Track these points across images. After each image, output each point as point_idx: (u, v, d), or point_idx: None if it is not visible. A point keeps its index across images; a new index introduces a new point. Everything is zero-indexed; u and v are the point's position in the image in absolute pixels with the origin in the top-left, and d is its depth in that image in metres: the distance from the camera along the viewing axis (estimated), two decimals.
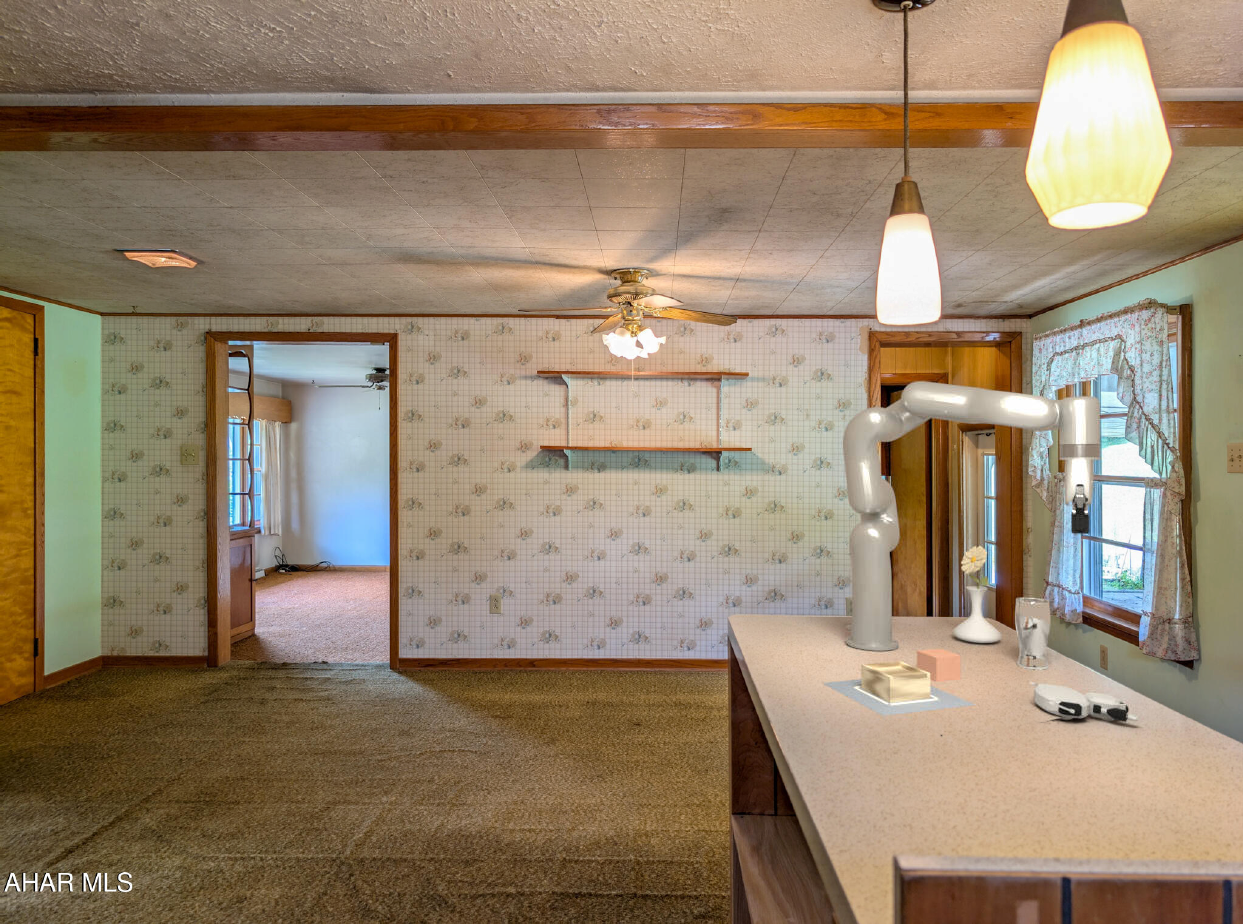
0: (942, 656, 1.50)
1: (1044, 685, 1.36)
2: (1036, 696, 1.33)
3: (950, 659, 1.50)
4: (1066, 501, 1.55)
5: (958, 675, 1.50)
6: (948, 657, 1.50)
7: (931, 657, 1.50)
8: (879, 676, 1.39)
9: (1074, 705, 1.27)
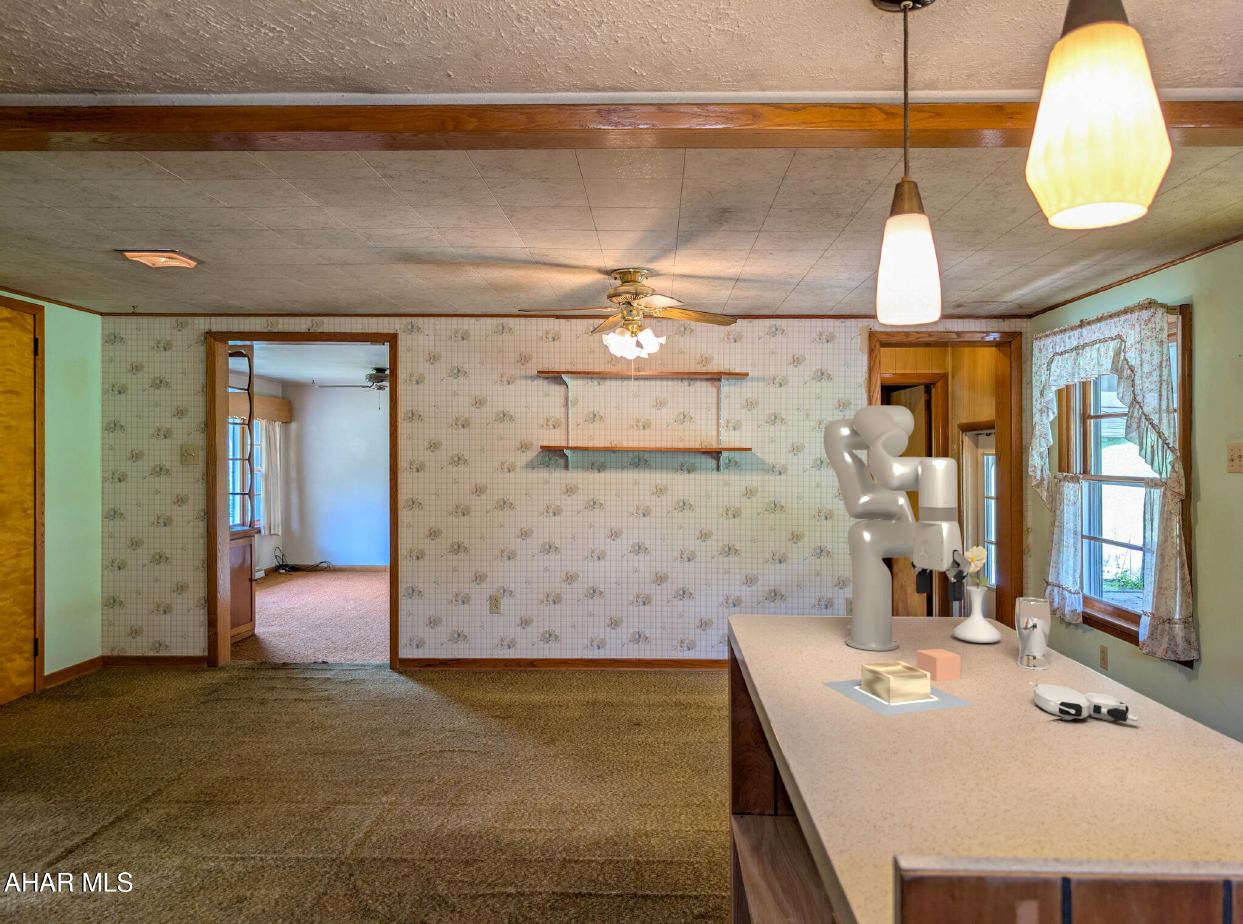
0: (942, 656, 1.50)
1: (1044, 685, 1.36)
2: (1036, 696, 1.33)
3: (950, 659, 1.50)
4: (944, 568, 1.47)
5: (958, 675, 1.50)
6: (948, 657, 1.50)
7: (931, 657, 1.50)
8: (879, 676, 1.39)
9: (1074, 705, 1.27)
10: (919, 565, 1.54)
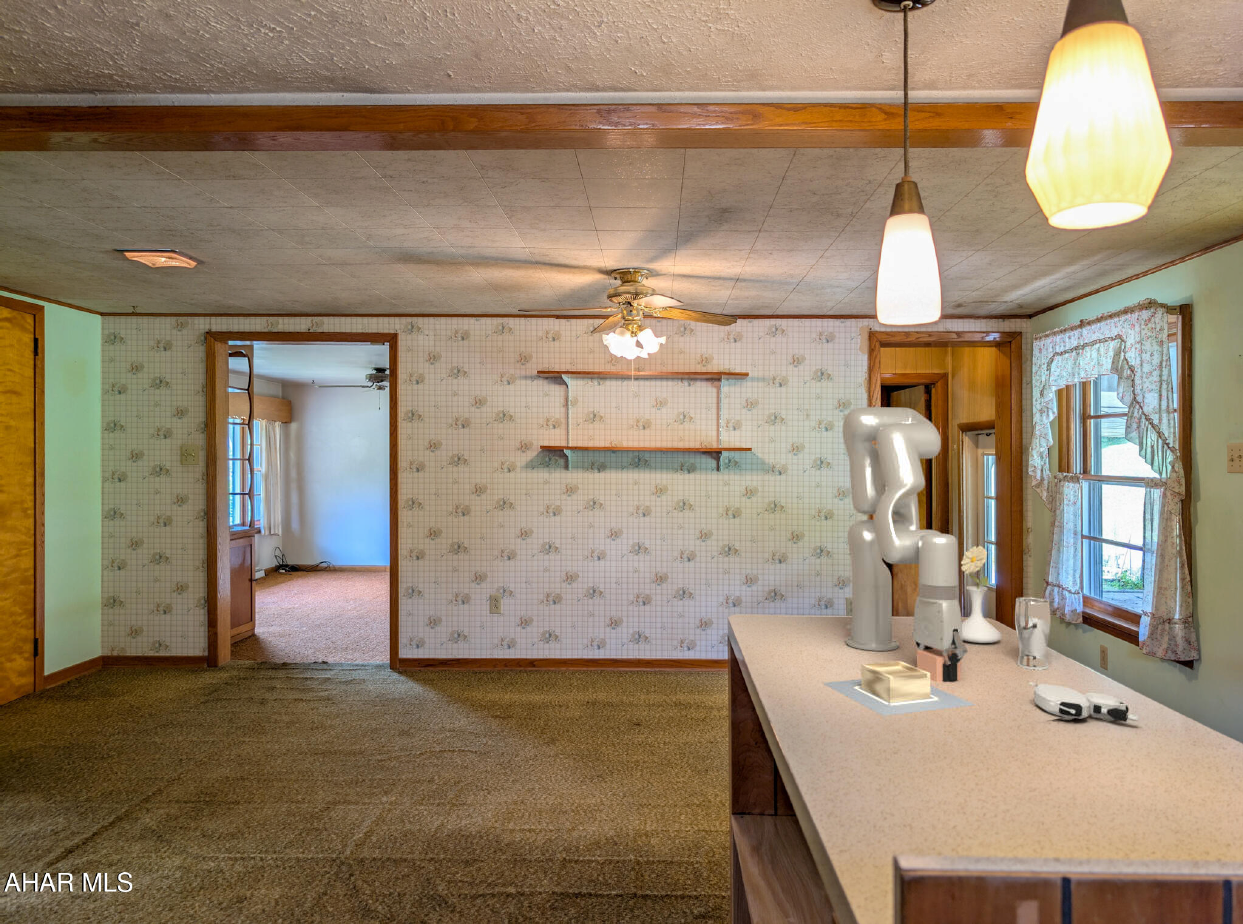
0: (942, 656, 1.50)
1: (1044, 685, 1.36)
2: (1036, 696, 1.33)
3: None
4: (944, 647, 1.47)
5: (958, 674, 1.50)
6: None
7: (931, 657, 1.50)
8: (879, 676, 1.39)
9: (1074, 705, 1.27)
10: (919, 641, 1.54)
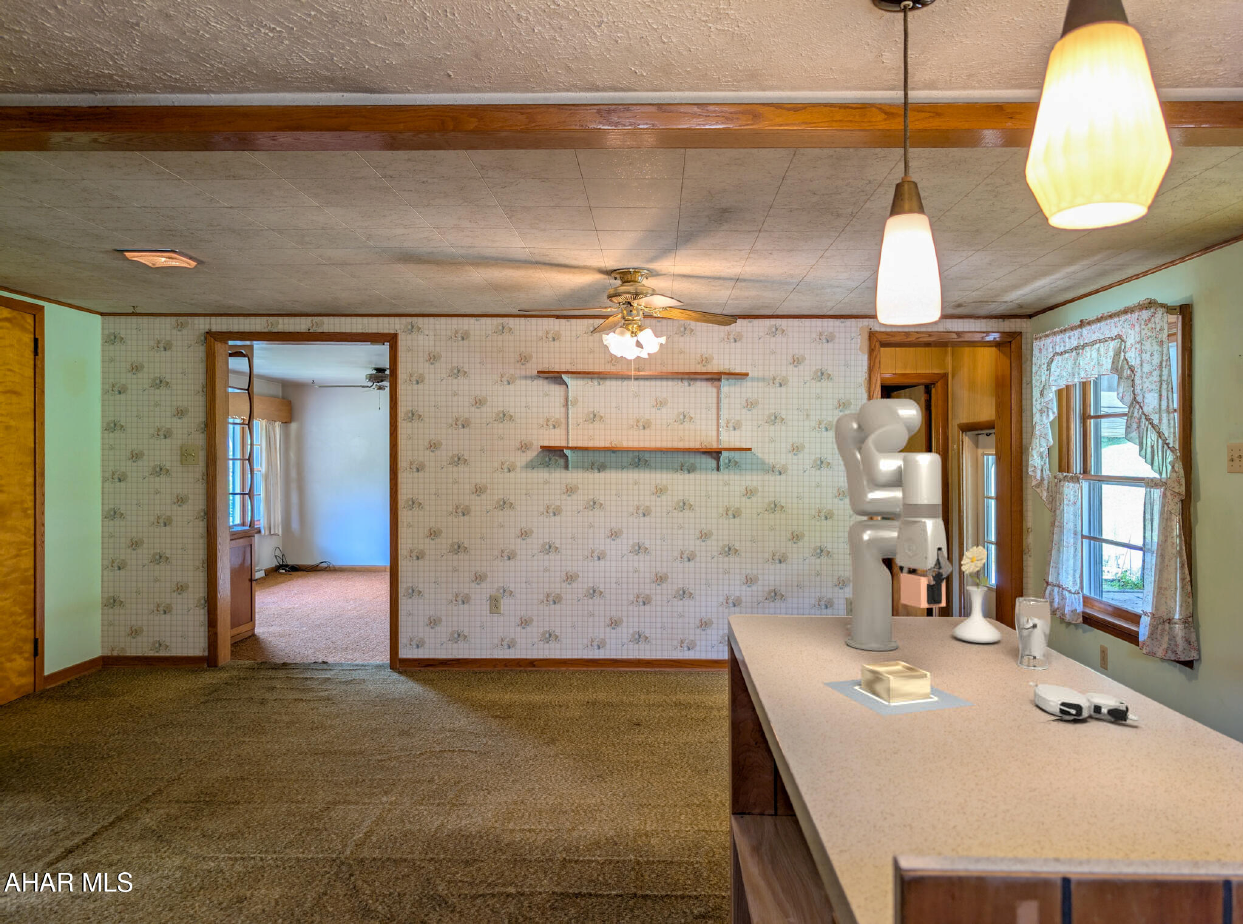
0: (926, 577, 1.45)
1: (1044, 685, 1.36)
2: (1036, 697, 1.33)
3: None
4: (928, 566, 1.43)
5: (942, 596, 1.46)
6: None
7: (915, 578, 1.46)
8: (879, 676, 1.39)
9: (1075, 705, 1.27)
10: (902, 564, 1.49)
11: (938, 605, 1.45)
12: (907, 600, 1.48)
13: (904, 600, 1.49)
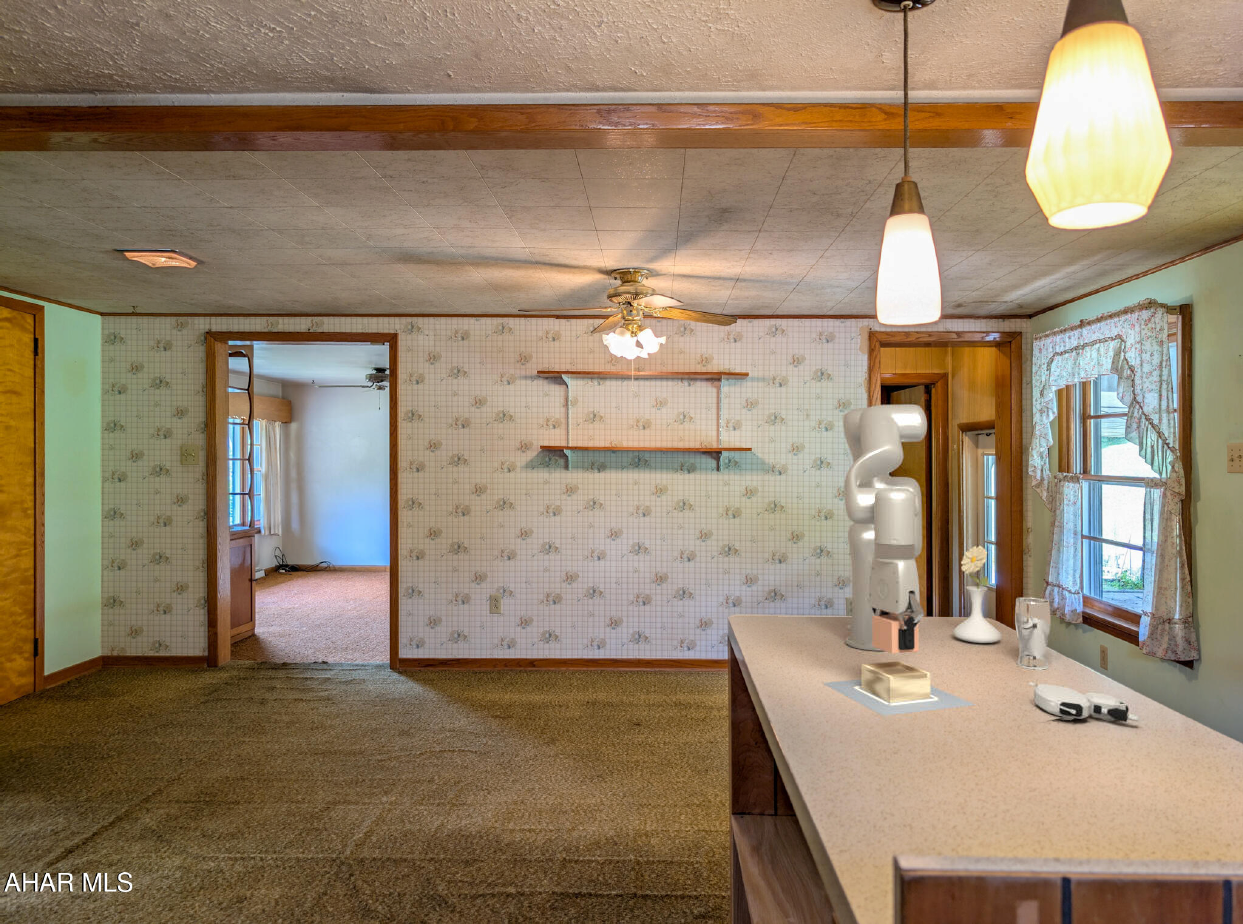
0: (898, 620, 1.39)
1: (1044, 685, 1.36)
2: (1036, 697, 1.33)
3: None
4: (899, 611, 1.36)
5: (915, 641, 1.39)
6: None
7: (886, 621, 1.39)
8: (879, 676, 1.39)
9: (1075, 705, 1.27)
10: (874, 606, 1.43)
11: (910, 650, 1.39)
12: (878, 644, 1.41)
13: (876, 643, 1.42)
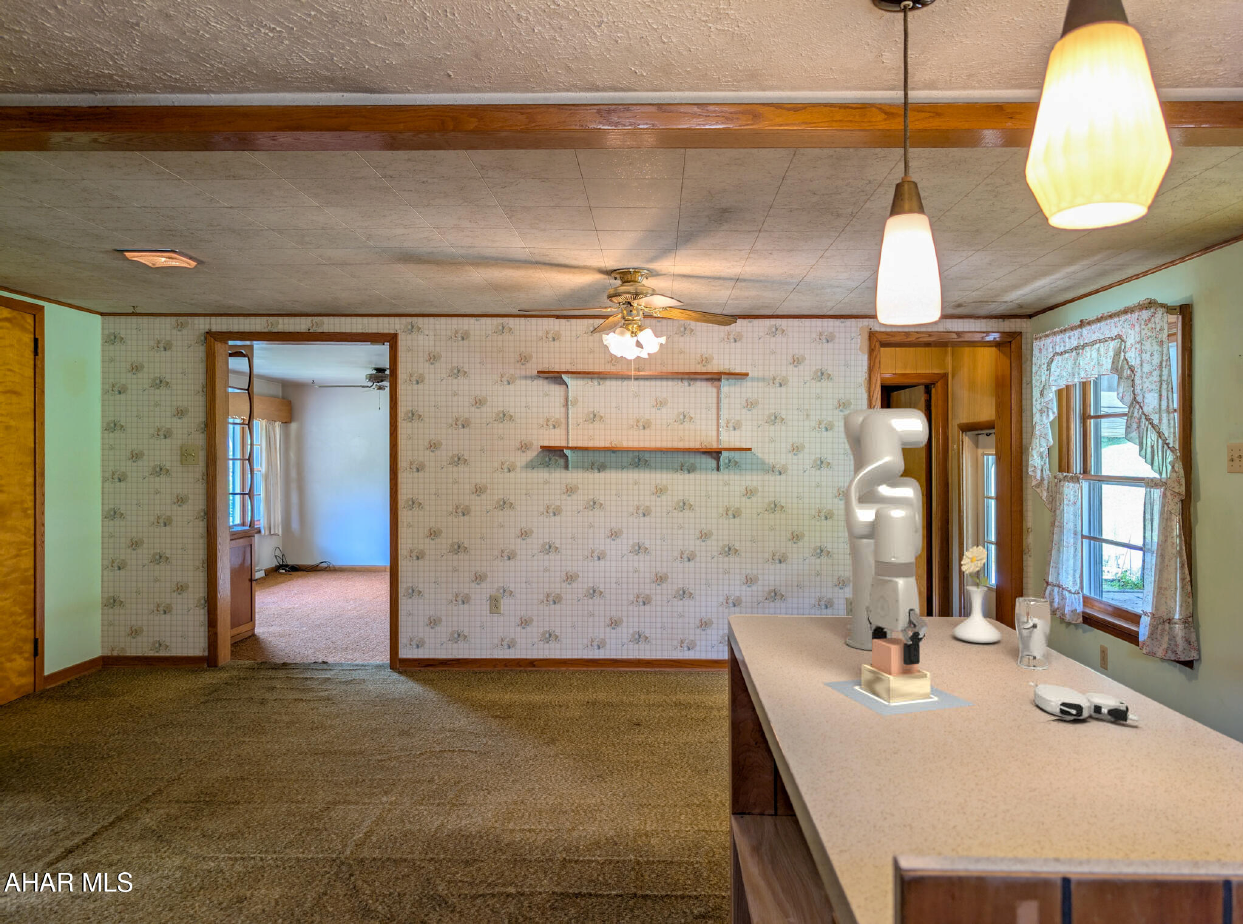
0: (898, 645, 1.39)
1: (1044, 686, 1.36)
2: (1037, 697, 1.33)
3: None
4: (899, 629, 1.36)
5: (915, 665, 1.39)
6: None
7: (886, 646, 1.39)
8: (879, 676, 1.39)
9: (1075, 705, 1.27)
10: (874, 622, 1.43)
11: None
12: (878, 668, 1.42)
13: (876, 667, 1.42)
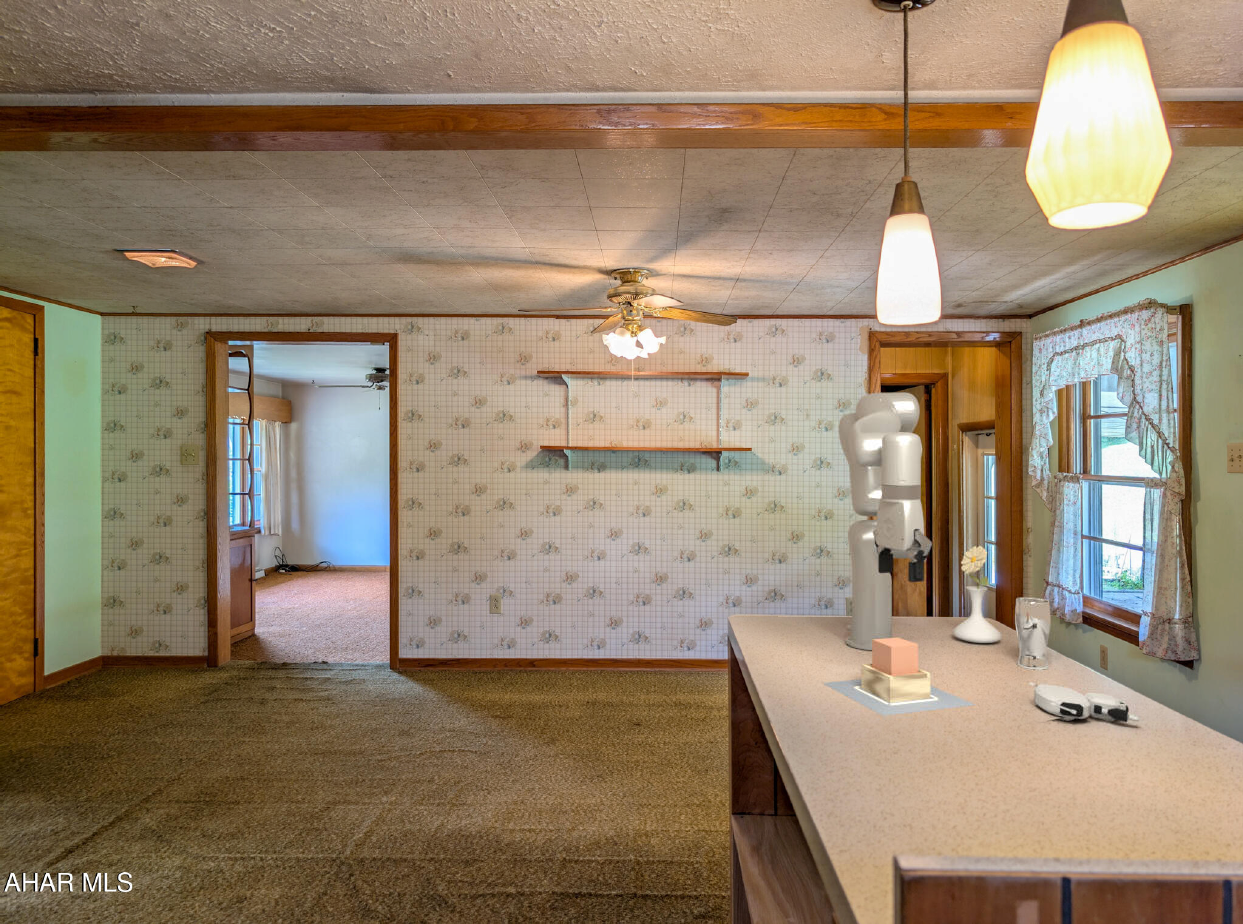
0: (898, 645, 1.39)
1: (1044, 686, 1.35)
2: (1037, 697, 1.32)
3: (906, 648, 1.39)
4: (905, 548, 1.43)
5: (915, 665, 1.39)
6: (904, 646, 1.39)
7: (886, 646, 1.39)
8: (879, 676, 1.39)
9: (1075, 705, 1.27)
10: (881, 544, 1.50)
11: None
12: (878, 668, 1.42)
13: (876, 667, 1.42)
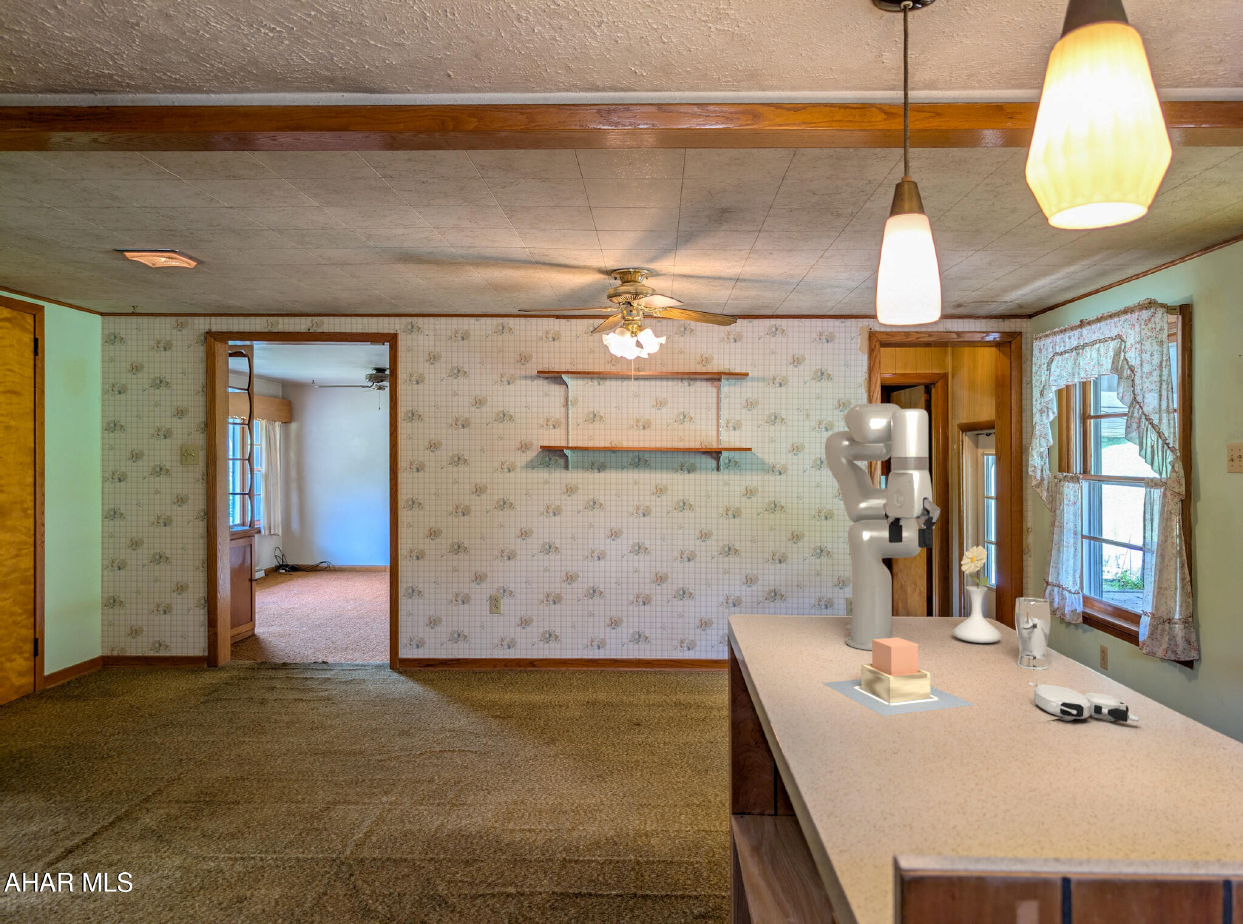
0: (898, 645, 1.39)
1: (1044, 686, 1.35)
2: (1037, 697, 1.32)
3: (906, 648, 1.39)
4: (914, 515, 1.51)
5: (915, 665, 1.39)
6: (904, 646, 1.39)
7: (886, 646, 1.39)
8: (879, 676, 1.39)
9: (1076, 706, 1.26)
10: (891, 514, 1.58)
11: None
12: (878, 668, 1.42)
13: (876, 667, 1.42)
